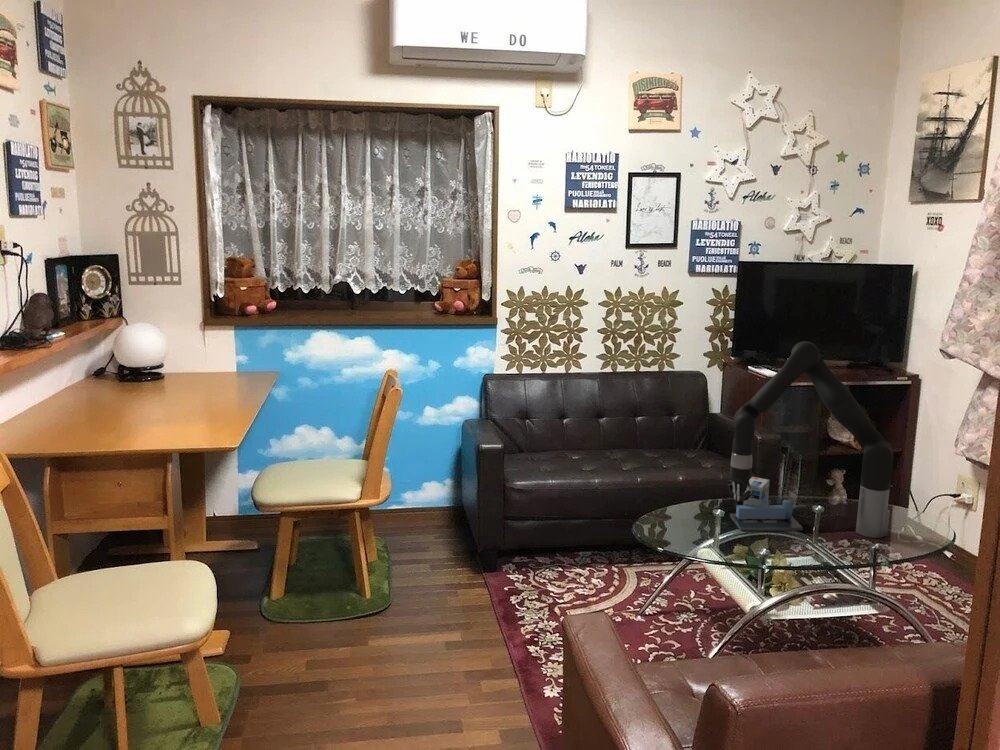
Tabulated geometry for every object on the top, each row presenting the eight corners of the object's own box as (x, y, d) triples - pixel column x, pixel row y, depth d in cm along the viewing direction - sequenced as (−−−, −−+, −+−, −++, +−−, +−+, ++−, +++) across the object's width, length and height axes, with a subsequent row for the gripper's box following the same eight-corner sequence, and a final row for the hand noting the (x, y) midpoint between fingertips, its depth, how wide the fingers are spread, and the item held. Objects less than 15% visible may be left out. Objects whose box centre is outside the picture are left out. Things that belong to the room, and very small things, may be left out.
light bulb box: (760, 515, 296) (762, 487, 294) (742, 511, 300) (744, 484, 297) (768, 506, 305) (770, 479, 303) (750, 502, 309) (752, 476, 306)
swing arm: (789, 515, 291) (790, 499, 290) (793, 519, 287) (794, 503, 286) (735, 515, 291) (736, 499, 290) (738, 519, 287) (739, 503, 286)
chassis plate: (789, 516, 294) (789, 512, 294) (802, 530, 282) (803, 526, 281) (730, 516, 294) (730, 512, 294) (740, 530, 282) (741, 526, 281)
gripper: (721, 461, 295) (718, 505, 298) (745, 471, 283) (742, 517, 287) (736, 458, 298) (733, 502, 301) (762, 468, 286) (758, 514, 290)
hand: (738, 509), depth 294 cm, fingers closed
